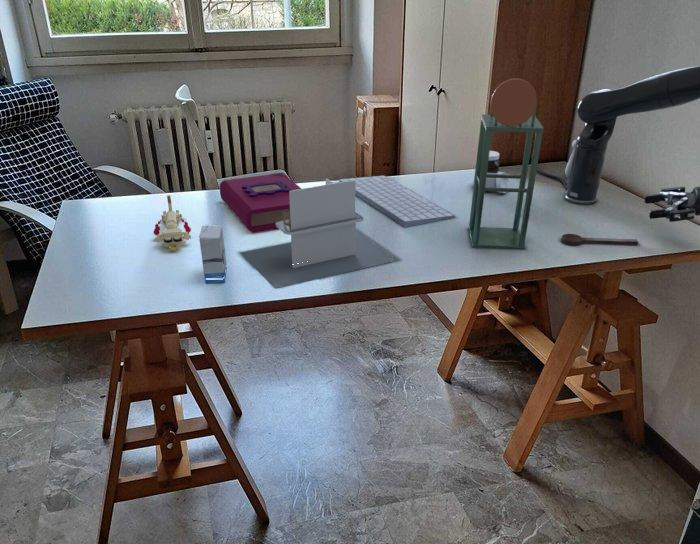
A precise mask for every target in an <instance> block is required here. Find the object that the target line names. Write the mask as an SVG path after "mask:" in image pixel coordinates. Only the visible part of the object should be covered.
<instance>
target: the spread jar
mask: <svg viewBox="0 0 700 544" xmlns="http://www.w3.org/2000/svg"><path fill="white" fill-rule="evenodd" d="M499 159H500V152H498V151H494V150H490V152H489V160H488V168H487V174H503V175H508V174H507V173H506V171H500V160H499ZM474 169H475V170H476V165H475V167H474ZM475 170H474V171H475ZM474 178H475V175H474V176H473V179H474ZM509 185H510V183H509V178H486V185H485V187H489V188H509ZM489 192H491V191H485V193H489ZM498 193H499V194H506V193H507V192H498Z"/></svg>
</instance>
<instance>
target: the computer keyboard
mask: <svg viewBox="0 0 700 544" xmlns="http://www.w3.org/2000/svg"><path fill="white" fill-rule="evenodd" d="M352 180H355V196H356V197H358V198H360V199H361V200H363V201H364V202H365V203H367V204H369V205H370V206H372V207H373V208H374V209H376V210H378V211H379V212H381V213H382V214H384V215H385V216H386V217H388V218H389V219H391V220H393V221H395V222H396V223H398V224H399V225H400V226H402V227H404V228H407V227H413V226H418V225H423V224H428V223H433V222H439V221H444V220H448V219H454V218H455V216H456V215H455V214H453V213H451V212H450V211H447V209H444V208H442V207H441V206H439V205H437V204H435V203H433V202H432V201H430V200H428V199H427V198H425V197H423V196H421V195H420V194H417V193H416V192H414V191H412V190H411V189H409V188H407V187H405V186H404V185H402V184H400V183H398V182H397V181H395V180H393V179H391V178H390V177H389V176H386V175H384V174H383V175H372V176H362V177H350V178H339V179H338V183H340V182H346V181H352Z"/></svg>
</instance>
